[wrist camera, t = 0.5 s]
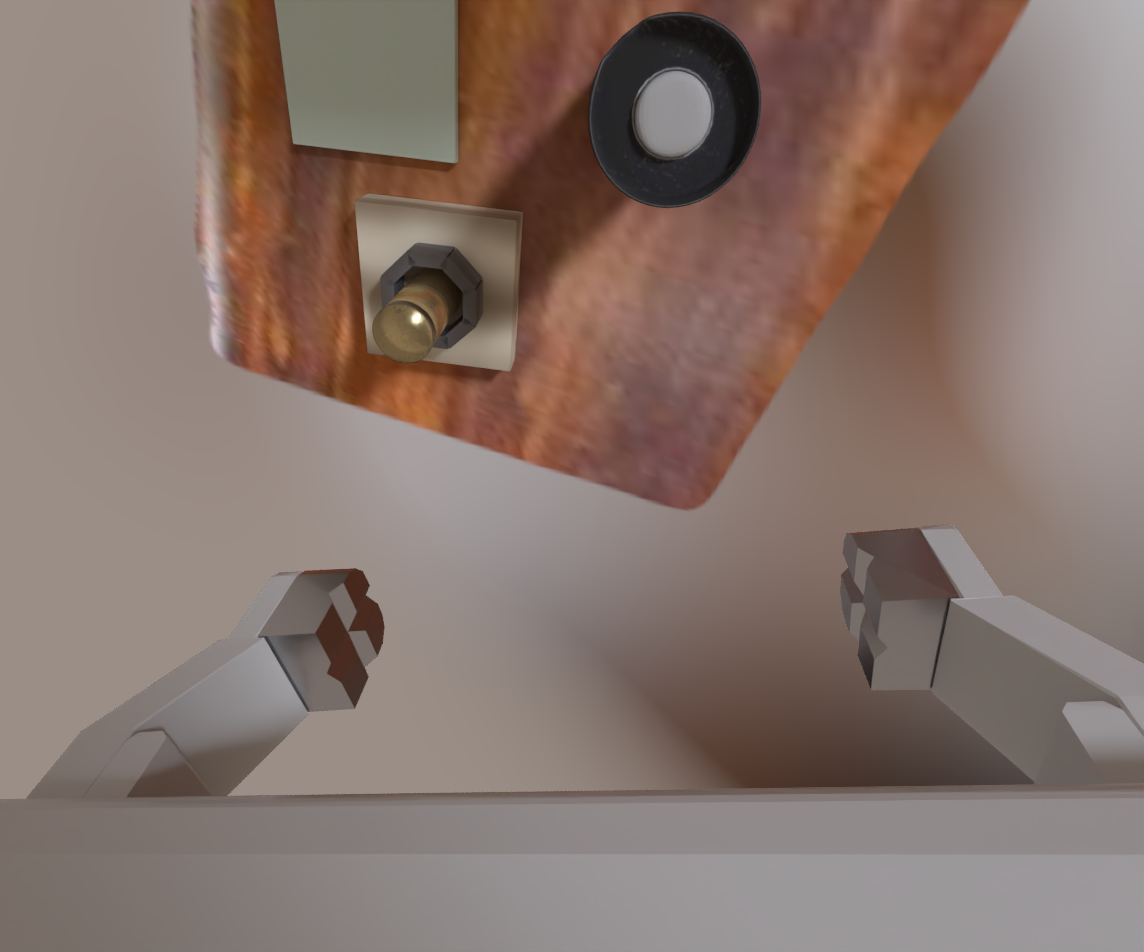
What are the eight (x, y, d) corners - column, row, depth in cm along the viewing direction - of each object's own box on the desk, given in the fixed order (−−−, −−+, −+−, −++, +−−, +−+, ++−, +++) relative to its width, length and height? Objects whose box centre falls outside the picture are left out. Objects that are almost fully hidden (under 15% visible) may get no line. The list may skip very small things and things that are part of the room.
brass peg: (410, 261, 49) (369, 300, 42) (463, 268, 49) (432, 308, 42) (412, 313, 52) (374, 359, 44) (463, 319, 52) (433, 366, 44)
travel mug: (702, 158, 46) (738, 222, 30) (597, 144, 47) (575, 200, 30) (728, 29, 42) (788, 21, 26) (612, 14, 42) (597, -4, 26)
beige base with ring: (368, 193, 50) (341, 208, 45) (522, 211, 50) (511, 229, 45) (379, 339, 56) (356, 365, 52) (515, 356, 56) (504, 384, 52)
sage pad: (272, -67, 41) (265, -69, 41) (458, -45, 41) (454, -47, 40) (299, 142, 48) (293, 143, 47) (458, 161, 48) (455, 163, 47)
